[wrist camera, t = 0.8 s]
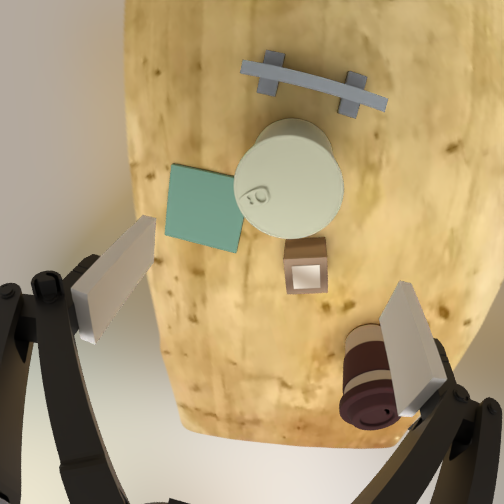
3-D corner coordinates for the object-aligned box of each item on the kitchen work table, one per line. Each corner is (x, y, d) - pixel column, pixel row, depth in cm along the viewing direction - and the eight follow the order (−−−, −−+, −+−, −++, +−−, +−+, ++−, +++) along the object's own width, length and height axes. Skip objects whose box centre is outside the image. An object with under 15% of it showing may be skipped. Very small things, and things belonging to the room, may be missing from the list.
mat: (173, 163, 38) (171, 164, 38) (251, 180, 38) (251, 182, 37) (166, 232, 43) (164, 234, 43) (236, 251, 43) (235, 253, 43)
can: (242, 131, 35) (215, 154, 25) (320, 109, 32) (328, 122, 22) (267, 202, 39) (252, 252, 29) (341, 184, 36) (355, 229, 26)
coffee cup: (331, 357, 51) (332, 435, 38) (344, 313, 46) (351, 397, 33) (386, 360, 50) (397, 435, 37) (404, 318, 45) (426, 397, 32)
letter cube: (285, 239, 41) (283, 260, 37) (325, 236, 40) (327, 257, 36) (289, 271, 44) (286, 295, 39) (326, 270, 43) (327, 293, 38)
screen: (262, 49, 30) (247, 38, 21) (369, 78, 30) (394, 77, 21) (253, 91, 32) (235, 95, 24) (358, 119, 32) (378, 133, 24)
